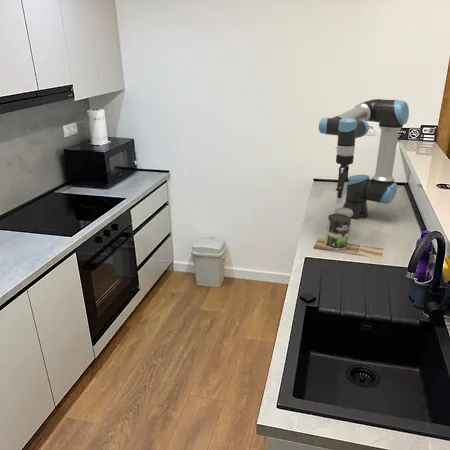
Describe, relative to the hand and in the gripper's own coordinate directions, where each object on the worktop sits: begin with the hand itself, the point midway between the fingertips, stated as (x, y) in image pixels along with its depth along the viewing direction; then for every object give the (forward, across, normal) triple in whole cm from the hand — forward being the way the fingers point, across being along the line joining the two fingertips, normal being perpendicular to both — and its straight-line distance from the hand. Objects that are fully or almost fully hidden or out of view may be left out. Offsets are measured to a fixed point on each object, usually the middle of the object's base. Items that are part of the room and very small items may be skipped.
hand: (341, 199), depth 199 cm
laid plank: (+23, +5, +16) cm, 29 cm away
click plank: (+23, +5, 0) cm, 23 cm away
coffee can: (+22, +5, 0) cm, 22 cm away
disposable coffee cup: (+24, -18, 0) cm, 30 cm away
